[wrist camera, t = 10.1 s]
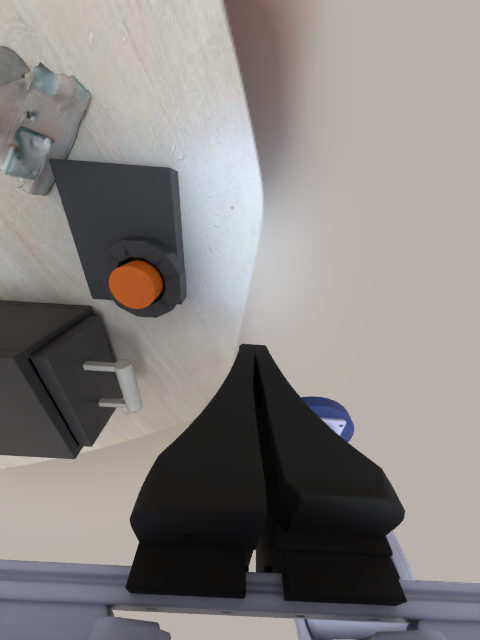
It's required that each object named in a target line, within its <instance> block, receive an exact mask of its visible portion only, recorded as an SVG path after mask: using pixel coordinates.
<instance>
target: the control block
mask: <svg viewBox="0 0 480 640" xmlns="http://www.w3.org/2000/svg"><path fill="white" fill-rule="evenodd" d="M49 163H50V166H51V169H52V172H53V175H54V178H55V182H56V185H57V188H58V191H59V194H60V197H61V201H62V204H63V207H64V210H65V213H66V216H67V220H68V223H69V226H70V229H71V232H72V235H73V239H74V242H75V245H76V248H77V251H78V254H79V258H80V261H81V264H82V267H83V270H84V273H85V277H86V280H87V283H88V286H89V289H90V292H91V296H92V298H93V299H106V300H113V301H114V302H115V303H116V304H117V306H119V307H120V308H122V309H124V310H126V311H128V312H130V313H132V314H134V315H136V316H139V317H154V318H156V317H159V316H161V315H163V314H165V313H168V312H170V311H172V310H173V309H174V307H175V306H176V305H177V304H182V303H183V301H184V300H185V298H186V276H185V268H184V255H183V241H182V227H181V212H180V198H179V184H178V172H177V171H175V170H173V169H171V168H166V167H152V166H139V165H126V164H113V163H99V162H86V161H73V160H59V159H49ZM135 260H139V261H144V262H147V263H149V264H150V265H152V266H153V267H154V268H156V270H157V271H158V272H159V274H160V275H161V278H162V281H163V289H162V292H161V293H160V295H159V296H158V297H157V298H156V299H155V300H154V301H153V302H152V303H151V304H150V305H149V306H147V307H145V308H141V309H134V308H130V307H127V306H125V305H123V304H122V303H120V302H119V301H118V300H117V299H116V298H115V297H114V296H113V294H112V292H111V290H110V287H109V278H110V275H111V273H112V272H113V271H114V270H115V269H116V268H118V267H120V266H122V265H124V264H126V263H128V262H131V261H135Z"/></svg>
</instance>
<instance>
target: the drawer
mask: <svg viewBox="0 0 480 640" xmlns="http://www.w3.org/2000/svg"><path fill="white" fill-rule="evenodd" d="M28 360H29V362H30V364H31V365H32V367H33V369H34V371H35V372H36V374H37V376H38V378H39V379H40V381H41V383H42V385H43V386H44V388H45V390H46V392H47V393H48V395H49V397H50V398H51V400H52V402H53V404H54V405H55V407H56V409H57V411H58V412H59V414H60V416H61V418H62V419H63V421H64V423H65V425H66V426H67V428H68V430H69V432H70V433H71V431H72V433H73V434H74V436H75V438H76V440H77V442H78V443H79V445H80V446H89V447H92V445H93V444H94V442H95V441H96V439H97V438H98V436H99V434H100V433H101V431H102V430H103V428H104V427H105V425H106V423H107V422H108V420H109V419H110V417H111V416H112V414H113V412H114V411H115V409H116V408H117V407H119V408H127V410H128V412H130V413H135V412H138V411H139V410H140V409H141V408H142V402H141V398H140V394H139V390H138V386H137V382H136V378H135V374H134V370H133V367H132V363H131V360H129V359H122V360H119V361H117V362H116V363H114V361H113V358H112V355H111V352H110V348H109V345H108V342H107V339H106V336H105V332H104V329H103V326H102V323H101V320H100V317H99V316H87V317H85V318H84V319H82V320H81V321H80V322H78V323H77V324H75V325H74V326H72V327H71V328H70V329H68V330H67V331H65V332H64V333H62V334H61V335H60V336H58V337H57V338H55V339H54V340H53V341H51V342H50V343H48V344H47V345H45V346H44V347H43V348H41V349H40V350H38V351H37V352H35V353H34V354H33V355H31V356H30V359H28ZM123 397H124V399H122V398H123Z"/></svg>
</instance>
